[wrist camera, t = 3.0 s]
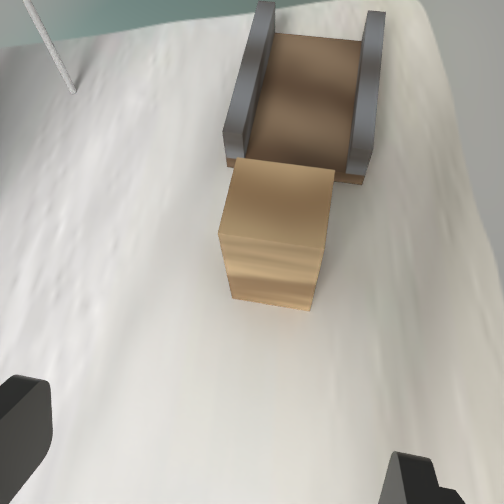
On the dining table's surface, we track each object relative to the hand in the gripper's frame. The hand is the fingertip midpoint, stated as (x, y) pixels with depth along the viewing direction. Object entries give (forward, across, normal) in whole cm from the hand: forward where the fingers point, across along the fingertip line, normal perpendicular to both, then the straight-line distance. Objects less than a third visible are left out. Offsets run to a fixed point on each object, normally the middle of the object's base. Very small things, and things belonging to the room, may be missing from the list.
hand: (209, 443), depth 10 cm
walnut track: (+26, 0, -7) cm, 27 cm away
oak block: (+17, 0, +2) cm, 17 cm away
